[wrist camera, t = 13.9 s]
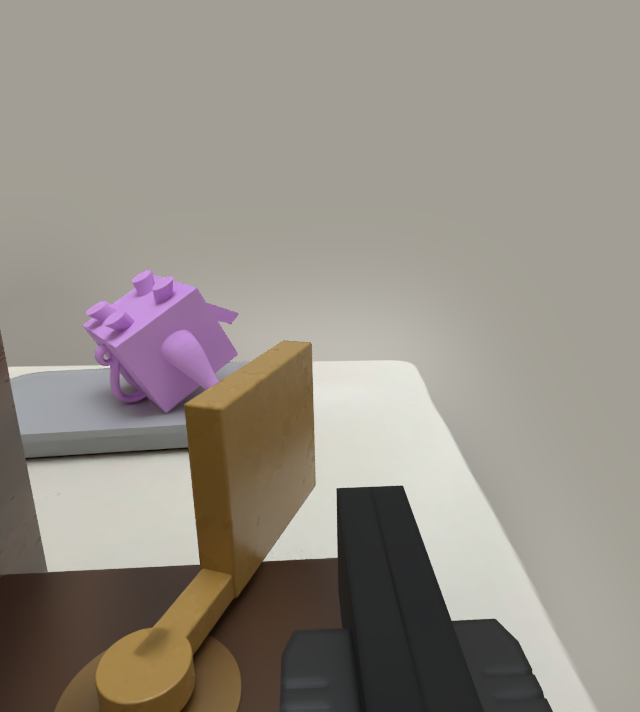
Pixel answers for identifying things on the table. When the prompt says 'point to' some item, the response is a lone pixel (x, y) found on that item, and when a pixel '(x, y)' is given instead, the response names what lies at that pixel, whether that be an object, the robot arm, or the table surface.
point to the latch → (224, 518)
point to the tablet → (94, 414)
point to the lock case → (134, 611)
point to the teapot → (161, 340)
